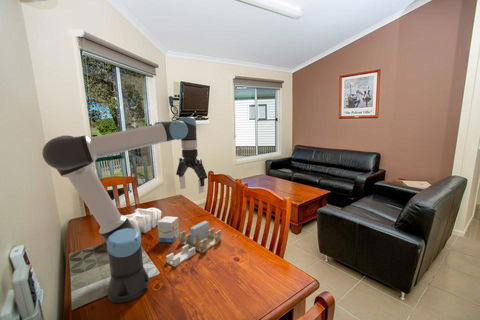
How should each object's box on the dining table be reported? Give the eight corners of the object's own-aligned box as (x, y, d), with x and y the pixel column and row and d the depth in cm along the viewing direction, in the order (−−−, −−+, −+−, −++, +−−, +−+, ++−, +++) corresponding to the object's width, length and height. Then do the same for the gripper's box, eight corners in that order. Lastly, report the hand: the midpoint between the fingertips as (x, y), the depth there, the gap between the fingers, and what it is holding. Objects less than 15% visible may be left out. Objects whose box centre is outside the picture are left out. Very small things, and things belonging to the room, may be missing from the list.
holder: (174, 267, 104) (174, 260, 103) (165, 262, 108) (165, 256, 107) (196, 253, 114) (195, 247, 114) (187, 249, 118) (187, 243, 118)
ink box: (172, 243, 125) (171, 222, 124) (158, 241, 127) (157, 221, 125) (179, 235, 134) (178, 216, 132) (166, 234, 135) (165, 215, 134)
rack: (202, 253, 115) (201, 242, 114) (179, 243, 124) (179, 233, 124) (221, 240, 127) (221, 230, 126) (199, 232, 136) (199, 223, 136)
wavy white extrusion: (121, 246, 123) (119, 228, 122) (102, 240, 131) (100, 222, 129) (168, 221, 154) (167, 206, 152) (151, 217, 161) (149, 203, 160)
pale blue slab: (195, 245, 120) (194, 229, 119) (191, 243, 122) (190, 228, 120) (209, 236, 129) (208, 221, 128) (205, 235, 131) (204, 220, 129)
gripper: (213, 149, 109) (215, 192, 112) (179, 147, 123) (181, 185, 126) (202, 150, 103) (204, 196, 106) (167, 148, 117) (170, 188, 121)
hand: (192, 190), depth 116 cm, fingers open, 13 cm apart
